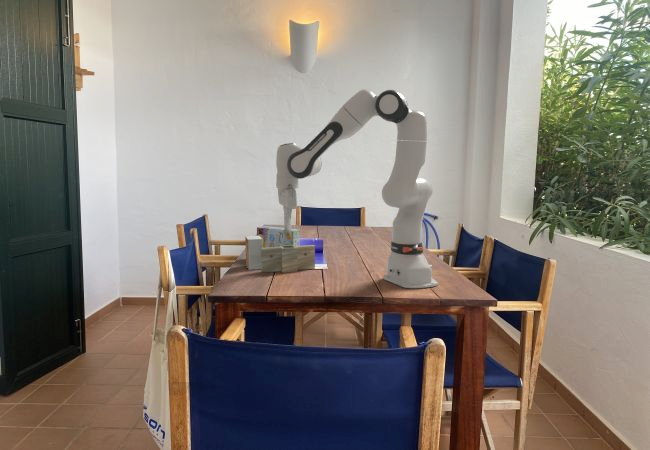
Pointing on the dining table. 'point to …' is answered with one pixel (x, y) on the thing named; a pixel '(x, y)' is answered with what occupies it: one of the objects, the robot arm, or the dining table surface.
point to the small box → (253, 252)
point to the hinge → (287, 258)
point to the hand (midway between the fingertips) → (287, 217)
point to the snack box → (278, 236)
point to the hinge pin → (287, 224)
